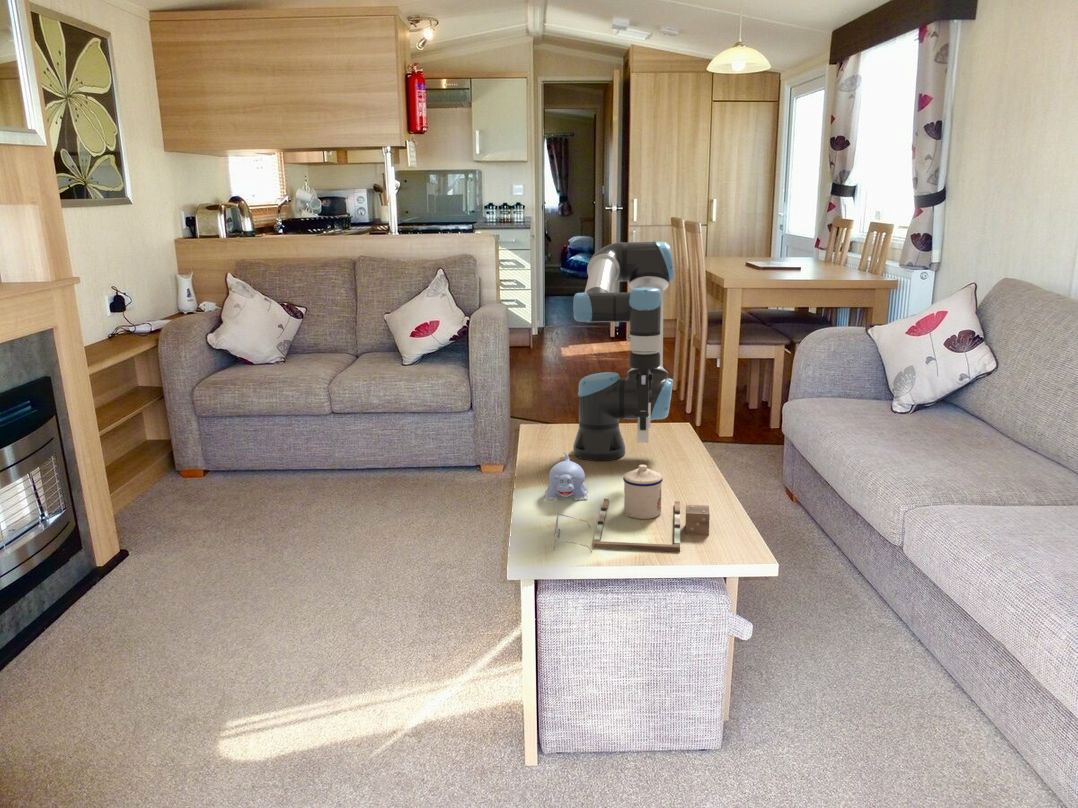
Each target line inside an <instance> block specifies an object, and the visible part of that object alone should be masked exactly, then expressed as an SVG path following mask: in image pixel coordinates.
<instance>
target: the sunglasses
mask: <svg viewBox="0 0 1078 808" xmlns="http://www.w3.org/2000/svg"><path fill="white" fill-rule="evenodd" d="M559 516H562V517H567V518H570V519H576V520H577V518H575V517H573V516H570V515H565V514H561V513H559V512H557V513H556V519H555V520H556V521H555V526H554V534H553V535H554V542H553V550H555V549H556V546H557V540H558V541H562V542H566V543H570V544H575V545H578V543H577V542H573V541H569V540H564V539H561V538H560V536H561V529H562V528H561V527H559ZM578 520H579V521H581V522H582V521H583V522H585V523H587V526H588V527H589V529H591V526H590V524H589V522H588V521H586V520H584V519H579V518H578ZM579 545H580V546H584V547H586V548H588V549H589V551H590V553H593V551H592V549H591V548H590V546H589V545H585V544H583V543H579Z"/></svg>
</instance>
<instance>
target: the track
mask: <svg viewBox="0 0 1078 808" xmlns="http://www.w3.org/2000/svg"><path fill="white" fill-rule="evenodd" d="M609 504H610V498H603V502H602V506H601V507H600V512H599V513H600V514H599V517H598V520H597V526H596V529H595V534H594V536H593V537H594V538H593V543H592V547H593V549H609V550H610V549H612V550H613V549H615V550H630V551H631V550H637V551H638V550H639V551H652V552H653V551H655V552H656V551H657V552H659V551H660V552H674V553H675V552H677V553H680V552H681V501H680V500H679V501H674V532H673V533H674V536H673V537H674V538H673V539H674V540H673V541H674V543H673V544H667V543H665V544H664V543H649V542H647V543H645V542H643V543H641V542H624V541H623V542H622V541H619V542H618V541H602V540H601V539H602V536H603V532H604V526H605V522H606V517H607V514H608V508H609Z"/></svg>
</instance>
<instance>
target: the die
mask: <svg viewBox="0 0 1078 808" xmlns="http://www.w3.org/2000/svg"><path fill="white" fill-rule="evenodd" d="M710 515H711V514H710V505H703V504H702V505H700V504H699V505H698V504H686V505H685V535H693V536H694V535H695V536H697V535H698V536H709V535H710Z"/></svg>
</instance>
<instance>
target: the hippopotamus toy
mask: <svg viewBox="0 0 1078 808" xmlns="http://www.w3.org/2000/svg"><path fill="white" fill-rule="evenodd" d="M563 454H564V460H563V461H560V462H558V463H556V464H554V465H553V467H551V469H550V472H549V475H548V480H549V484H548V486H547V488H546V490H545V496H544V500H545V501H551V502H553V501H558V498H559V496H561V497H563V498H567V497H570V496H573V498H574V500H575V501H580V502H581V501H588V498H589V496H588V492H589V491H588V489H587V487H586V485H585V484H584V483H585V479H586V474H585V471H584V469H583V468H582V466H581V465H580V464H578V463H576V462H574V461H571V460H570V457H569V455H568V453H566V452H563Z"/></svg>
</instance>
